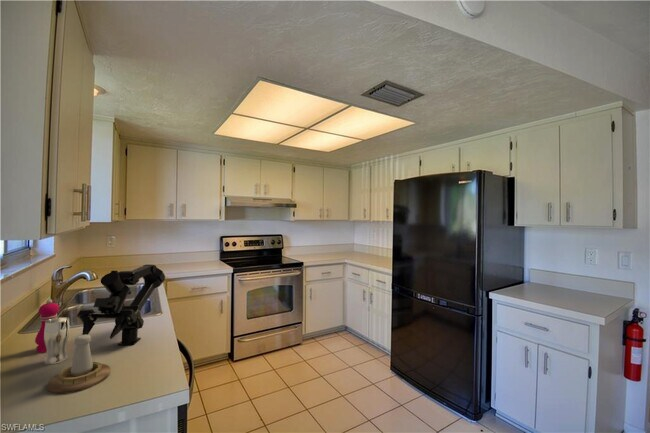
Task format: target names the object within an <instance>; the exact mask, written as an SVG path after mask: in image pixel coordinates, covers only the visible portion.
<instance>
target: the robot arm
mask: <svg viewBox="0 0 650 433" xmlns="http://www.w3.org/2000/svg"><path fill="white" fill-rule="evenodd" d="M142 278H143V282H144V284H143V286H142V287H141V288H140V290H139V291H138V293H136V295H135V297H134V299H133V300H132V302H131V303H130V304H129V305H125V301H126V299H127V298H128V295H132V291H131V288H130V287H129V286H135V285H137V284H138V283H139V282H140V279H142ZM165 280H166V275H165V273H164V271H163V270H161V269H160V268H159V267H157V266H156V265H155V264H144V265H142V266H140V267H137V268H134V269H133V270H121V271H118V270H110V272H109V273H107V274H105V275H103V276H102V277H101V278H100V284H101V285H102V286H103V287H104V288H105V290H106V291H107V292H108V293H110V294H109V295H108V297H100V298H99V297H96V298H95V300H94V304H93V308H97V310H98V311H99V312H96V311H94V309H91V308H90V309H86V308H84V309H80V310H79V311H78V313H77V314H76V317H77V318H79V320H81V322H82V323H83V324H82V325H83V326H82V334H81V335H90V334H89V333H90V332H91V331H92V329H93V328H94V326H95V325H96V323H95V322H96V321H97V319H114V323H115V325H114V327H113V329H112V331H111V333H110V336H109V339H111V340H112V339H113V338H115V336H116V335H118V334H119V333H120V332H121V341H119V342H118V343H117V346H132V345H133V346H134V345H135V344H137V343H138V342H139V341H140V340H141V339H142V338H141V337H138V333H139V332H138V331H139V329H142V328H143V326H144V324H145V323H144V322H145V321H144V319H143V318H142V314H141V311H142V309H143V307H145V306H144V305H145V304H146V303H147V301H148V300H149V298H150V296H151V295H152V293H153V291H154V290H155V289H157V288H159V287H160V286H161V285H162V284H163V283H164V282H165Z"/></svg>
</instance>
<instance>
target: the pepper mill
mask: <svg viewBox="0 0 650 433" xmlns="http://www.w3.org/2000/svg"><path fill="white" fill-rule="evenodd" d="M59 311H60V305H58V304H57V303H55V302H53V300H52V299H51V298H49V299H47V300H46V303H44V304H42V305H41V306H40V307H39V308H38V314H39V315H40V316H39V317H40V319H39V321H41V325H40V329H39V330H38V332H37V334H36V336H35V340H34V343H35V344H36V345H37V346H36V353H40V354H43V353H46V345H45V340H44V330H45V322H46V321H47V320H50V319H54V318H58V314H57V313H58V312H59Z"/></svg>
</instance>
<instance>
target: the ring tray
mask: <svg viewBox="0 0 650 433" xmlns="http://www.w3.org/2000/svg"><path fill="white" fill-rule="evenodd" d="M92 362H93V368H92V369H91V371H90V372H89V373H88V374H86V375H83V376H78V377H74V376H73V375H72V374H71V366H68V367H65V368H64V369H63V370H61V371H60V372H59V373H57V374H55V375H54V376H52V377H51V378H50V379H49V380H48V381H47V386H46V387H47V388H46V389H47V391H48V392H50V393H52V394H59V395H60V394H61V395H62V394H70V393H75V392H80V391H83V390H86V389H87V390H88V389H89V388H92V387H94V386H97V385H98V384H100V383H102V382H104V381H105V380H106V379H107V378H109V376H110V375H111V366H110V365H108V364H104V363H101V362H97V361H92Z"/></svg>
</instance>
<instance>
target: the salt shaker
mask: <svg viewBox="0 0 650 433" xmlns="http://www.w3.org/2000/svg"><path fill="white" fill-rule="evenodd" d="M91 341H92V335H90V334H88V335H82V334H81V335H80V334H79V335H78V336H76V337H75V338H74V345H76V347H75V351H74V356H73V360H72V362H71V366H70V367H71V374H72V375H73V376H74V377H78V376H83V375H86V374H88V373H89V372H90V371H91V369H92V368H93V362H94V361H93V358H92V352H91V351H92V350H91V347H90V343H91Z"/></svg>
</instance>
